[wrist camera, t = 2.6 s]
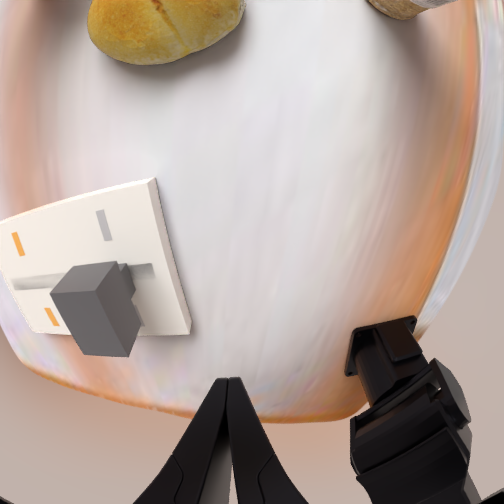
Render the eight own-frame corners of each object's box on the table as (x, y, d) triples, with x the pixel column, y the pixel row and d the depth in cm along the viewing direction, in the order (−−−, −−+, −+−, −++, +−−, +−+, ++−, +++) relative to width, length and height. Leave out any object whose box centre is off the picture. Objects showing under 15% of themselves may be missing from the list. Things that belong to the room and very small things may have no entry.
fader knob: (149, 303, 17) (128, 357, 13) (110, 306, 17) (84, 354, 13) (129, 244, 15) (95, 290, 11) (87, 250, 15) (49, 293, 11)
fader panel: (191, 321, 20) (189, 334, 19) (39, 322, 20) (32, 332, 19) (155, 177, 15) (146, 183, 14) (-5, 223, 15) (-16, 230, 14)
